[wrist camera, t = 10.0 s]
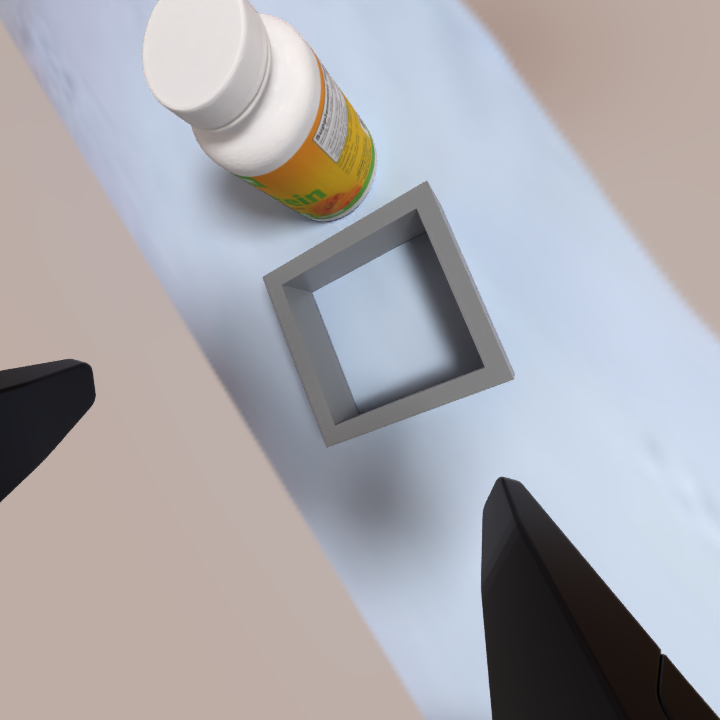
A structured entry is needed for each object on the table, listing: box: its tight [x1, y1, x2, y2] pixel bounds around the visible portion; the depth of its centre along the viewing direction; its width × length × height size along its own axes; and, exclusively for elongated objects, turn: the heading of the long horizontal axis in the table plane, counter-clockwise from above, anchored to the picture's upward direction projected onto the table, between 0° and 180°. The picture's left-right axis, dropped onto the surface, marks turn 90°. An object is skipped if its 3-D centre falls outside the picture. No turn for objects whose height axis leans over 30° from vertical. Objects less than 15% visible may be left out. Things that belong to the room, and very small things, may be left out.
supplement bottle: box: [142, 0, 377, 221], centre depth 16 cm, size 5×5×10 cm
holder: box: [263, 181, 514, 447], centre depth 19 cm, size 9×9×3 cm
